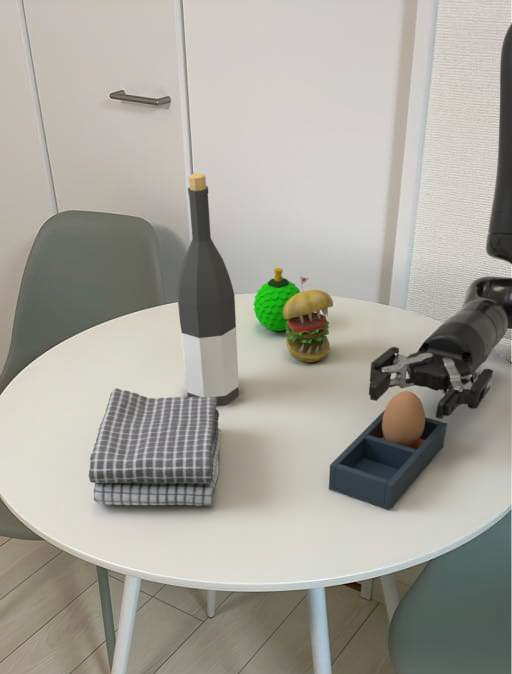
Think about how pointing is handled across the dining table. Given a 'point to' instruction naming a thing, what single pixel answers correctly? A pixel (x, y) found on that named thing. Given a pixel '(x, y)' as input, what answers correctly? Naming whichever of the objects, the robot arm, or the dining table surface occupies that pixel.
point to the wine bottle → (206, 309)
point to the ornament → (274, 301)
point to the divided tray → (384, 464)
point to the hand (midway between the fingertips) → (405, 402)
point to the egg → (404, 419)
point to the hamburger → (307, 324)
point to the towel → (156, 451)
